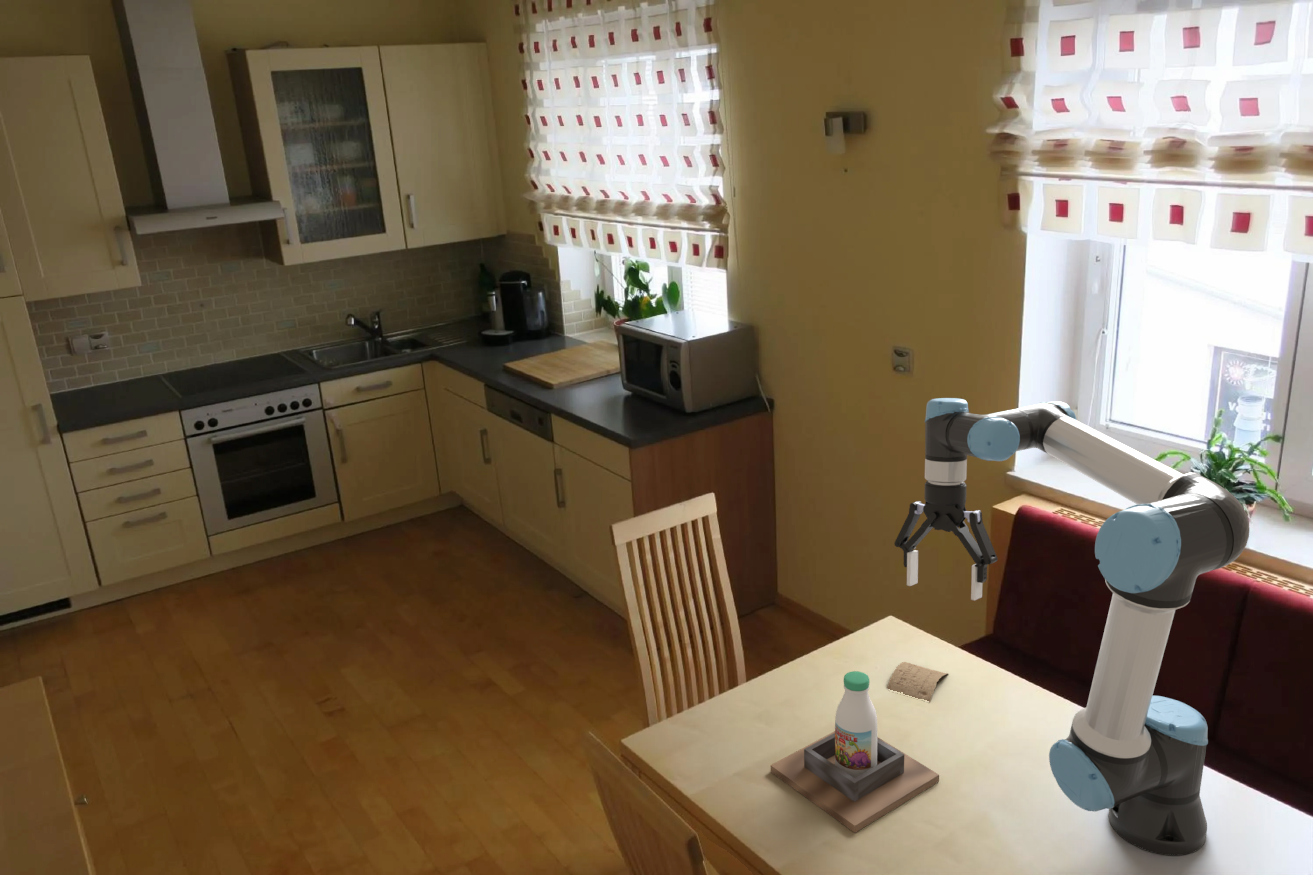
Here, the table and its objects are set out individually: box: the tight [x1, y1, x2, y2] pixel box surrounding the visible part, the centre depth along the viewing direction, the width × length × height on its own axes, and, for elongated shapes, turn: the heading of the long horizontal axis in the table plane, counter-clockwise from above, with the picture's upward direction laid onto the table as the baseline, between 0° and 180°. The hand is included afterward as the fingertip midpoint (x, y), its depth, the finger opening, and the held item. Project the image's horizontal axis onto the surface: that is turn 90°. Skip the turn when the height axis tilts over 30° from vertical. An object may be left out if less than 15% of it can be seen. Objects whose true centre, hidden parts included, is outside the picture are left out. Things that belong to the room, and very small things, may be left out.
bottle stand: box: [770, 730, 940, 833], centre depth 191 cm, size 22×22×6 cm
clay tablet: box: [886, 661, 948, 703], centre depth 221 cm, size 14×10×3 cm
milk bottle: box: [834, 670, 878, 778], centre depth 188 cm, size 8×8×20 cm
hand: (943, 591), depth 193 cm, fingers open, 13 cm apart
